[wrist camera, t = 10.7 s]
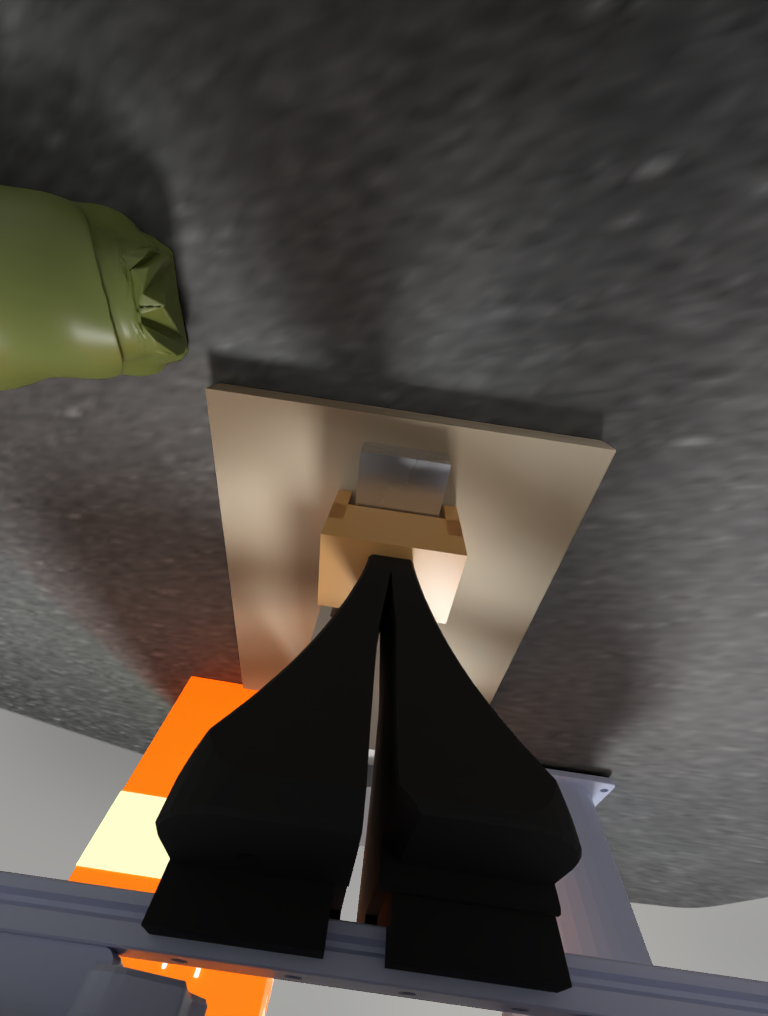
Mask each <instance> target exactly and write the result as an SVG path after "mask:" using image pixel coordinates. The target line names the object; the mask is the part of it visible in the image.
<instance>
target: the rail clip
mask: <svg viewBox="0 0 768 1016" xmlns="http://www.w3.org/2000/svg"><path fill="white" fill-rule="evenodd" d="M351 497H352V491H347V490H340V489H339V491H338V493H337V495H336V498H335V500H334V503H333V505H332V508H331V510H330V513H329V515H328V517H327V520H326V522H325V525H324V527H323V530H322V532H321V538H320V560H319V582H318V603H317V605H322V606H329V607H336V608H340V606H341V605H342V604H343V602H344V601H345V599H346V598H347V597H348V595H349V593H350V592H351V590H352V589H353V587H354V586H355V584H356V582H357V581H358V579H359V577H360V575H361V574H362V572H363V570H364V568H365V566H366V563H367V561H368V557H369V556H370V555H372V554H375V555H382V556H389V557H395V558H402V559H409V560H411V561H412V562H413V564H414V568H415V571H416V575H417V578H418V581H419V583H420V586H421V589H422V591H423V594H424V596H425V598H426V601H427V603H428V605H429V607H430V610H431V612H432V614H433V616H434V618H435V620H436V622H437V623H443V624H446V622H447V619H448V616H449V613H450V609H451V606H452V603H453V600H454V597H455V594H456V591H457V588H458V584H459V581H460V578H461V575H462V572H463V569H464V566H465V563H466V560H467V556H468V555H467V551H466V546H465V542H464V537H463V533H462V529H461V524H460V520H459V515H458V511H457V507H453V506H447V505H444V506H443V509H442V513H441V517H440V518H436V517H430V516H423V515H416V514H410V513H403V512H396V511H390V510H383V509H376V508H370V507H363V506H356V505H351Z"/></svg>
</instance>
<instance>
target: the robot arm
mask: <svg viewBox="0 0 768 1016" xmlns="http://www.w3.org/2000/svg"><path fill="white" fill-rule="evenodd" d="M379 634H380V661H379V711H378V724H377V734H376V744H375V755H374V764H373V774H372V784H371V794H370V803H369V813H368V822H367V832H366V841H365V851H364V859H363V868H362V877H361V886H360V895H359V904H358V913H357V922H349V921H342V920H340V914H341V909H342V904H343V901H344V897H345V893H346V889H347V886H349V883H350V879H351V875H352V871H353V867H354V863H355V859H356V856H357V852H358V847H359V844H360V840H361V836H362V830H363V820H364V810H365V799H366V789H367V773H368V757H369V742H370V727H371V713H372V700H373V687H374V674H375V662H376V651H377V643H378V639H379ZM614 787H615V784H614V782H613V780H612V779H611V778H608V777H601V776H595V775H588V774H581V773H574V772H568V771H561V770H554V769H547V768H544V767H543V766H542V765H541V764H540V762H539V761H538V760H537V759H536V758H535V757H534V756H533V755H532V754H531V753H530V752H529V751H528V750H527V749H526V748H525V746H524V745H523V744H522V743H521V742H520V741H519V740H518V739H517V737H516V736H515V735H514V734H513V733H512V732H511V730H510V729H509V728H508V727H507V726H506V724H505V723H504V722H503V721H502V720H501V718H500V717H499V716H498V715H497V713H496V712H495V711H494V709H493V708H492V707H491V706H490V704H489V703H488V702H487V700H486V699H485V698H484V696H483V695H482V694H481V692H480V691H479V690H478V688H477V687H476V686H475V685H474V683H473V682H472V680H471V679H470V677H469V676H468V674H467V673H466V671H465V670H464V668H463V667H462V665H461V664H460V662H459V661H458V659H457V658H456V656H455V654H454V653H453V651H452V649H451V648H450V646H449V644H448V643H447V641H446V639H445V637H444V635H443V634H442V632H441V630H440V628H439V626H438V624H437V622H436V620H435V618H434V616H433V614H432V612H431V610H430V607H429V605H428V603H427V601H426V598H425V596H424V594H423V591H422V589H421V586H420V583H419V581H418V578H417V575H416V571H415V568H414V564H413V562H412V561H411V560H409V559H402V558H395V557H389V556H382V555H375V554H372V555H370V556H369V557H368V561H367V563H366V566H365V568H364V570H363V572H362V574H361V575H360V577H359V579H358V581H357V582H356V584H355V586H354V587H353V589H352V590H351V592H350V593H349V595H348V597H347V598H346V599H345V601H344V602H343V604H342V605H341V606H340V608H339V609H338V610H337V612H336V613H335V614H334V616H333V617H332V618H331V619H330V621H329V622H328V623H327V624H326V625H325V627H324V628H323V629H322V630H321V631H320V632H319V634H318V635H317V636H316V637H315V638H314V639H313V640H312V641H311V642H310V643H309V644H308V645H307V647H306V648H305V649H304V650H303V651H302V652H301V653H300V654H299V655H298V656H297V657H296V658H295V659H294V660H293V661H292V662H291V663H290V664H288V665H287V666H286V667H285V668H284V669H283V670H282V671H281V672H280V673H279V674H277V675H276V676H275V677H274V678H273V679H272V680H270V681H269V682H268V683H267V684H266V685H265V686H264V687H262V688H261V689H260V690H259V691H258V692H257V693H255V694H254V695H253V696H252V697H251V698H249V699H248V700H247V701H245V702H244V703H243V704H241V705H240V706H239V707H238V708H236V709H235V710H234V711H232V712H231V713H230V714H228V715H227V716H226V717H224V718H223V719H222V720H220V721H219V722H218V723H217V724H215V725H214V726H213V727H211V728H210V729H209V730H208V732H207V733H206V734H205V736H204V737H203V738H202V740H201V741H200V743H199V744H198V745H197V747H196V748H195V750H194V751H193V753H192V754H191V756H190V757H189V759H188V760H187V762H186V764H185V765H184V767H183V769H182V770H181V772H180V773H179V775H178V777H177V779H176V781H175V783H174V785H173V787H172V789H171V791H170V793H169V795H168V797H167V799H166V801H165V803H164V805H163V807H162V809H161V811H160V813H159V815H158V817H157V819H156V821H155V824H156V830H157V834H158V837H159V839H160V841H161V843H162V844H163V846H164V848H165V850H166V852H167V854H168V856H169V858H170V860H169V862H168V864H167V866H166V869H165V871H164V873H163V875H162V878H161V880H160V882H159V884H158V887H157V889H156V891H155V893H149V892H143V891H136V890H129V889H122V888H115V887H108V886H101V885H94V884H87V883H80V882H74V881H67V880H59V879H52V878H46V877H38V876H32V875H25V874H18V873H11V872H4V871H0V1016H205V1013H206V1010H207V1003H206V999H204V998H201V997H199V996H197V995H195V994H192V993H190V992H189V991H188V989H187V985H186V981H183V980H178V979H174V978H170V977H166V976H161V975H157V974H153V973H149V972H144V971H140V970H136V969H131V968H127V967H123V963H122V960H121V958H120V957H127V958H134V959H141V960H148V961H155V962H162V963H169V964H176V965H183V966H190V967H197V968H204V969H211V970H218V971H225V972H232V973H238V974H245V975H252V976H259V977H266V978H273V979H280V980H288V981H295V982H301V983H308V984H315V985H322V986H329V987H336V988H343V989H350V990H357V991H364V992H370V993H378V994H384V995H391V996H398V997H405V998H412V999H419V1000H426V1001H433V1002H440V1003H447V1004H454V1005H461V1006H468V1007H475V1008H482V1009H489V1010H496V1011H502V1012H503V1013H502V1016H768V982H764V981H757V980H750V979H743V978H737V977H729V976H723V975H716V974H709V973H702V972H695V971H688V970H681V969H674V968H668V967H660V966H654V965H653V964H652V962H651V959H650V956H649V953H648V951H647V949H646V945H645V943H644V940H643V937H642V934H641V932H640V929H639V926H638V923H637V921H636V918H635V915H634V913H633V910H632V907H631V904H630V902H629V899H628V896H627V893H626V891H625V888H624V885H623V883H622V880H621V877H620V874H619V872H618V869H617V866H616V863H615V861H614V858H613V855H612V853H611V850H610V847H609V844H608V842H607V839H606V836H605V833H604V831H603V828H602V825H601V823H600V820H599V817H598V814H597V812H596V809H595V806H596V805H597V804H598V803H599V802H600V801H601V800H602V799H603V798H604V797H605V796H607V795H608V794H609V793H610V792H611V791H612V790H613V789H614ZM119 956H120V957H119Z"/></svg>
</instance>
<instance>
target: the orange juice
mask: <svg viewBox="0 0 768 1016" xmlns="http://www.w3.org/2000/svg"><path fill="white" fill-rule="evenodd" d="M257 692H258V690H251V689H245V688H243V685H242V684H236V683H230V682H224V681H218V680H212V679H206V678H200V677H194V676H191V678H190V679H189V681H188V683H187V684H186V686H185V688H184V689H183V691H182V693H181V694H180V696H179V698H178V699H177V701H176V703H175V704H174V706H173V707H172V709H171V711H170V712H169V714H168V716H167V717H166V719H165V721H164V722H163V724H162V726H161V727H160V729H159V731H158V732H157V734H156V736H155V737H154V739H153V741H152V742H151V744H150V746H149V747H148V749H147V751H146V752H145V754H144V756H143V757H142V759H141V761H140V762H139V764H138V766H137V767H136V769H135V770H134V772H133V774H132V775H131V777H130V779H129V780H128V782H127V784H126V786H125V787H124V789H123V790H122V791H120V793H119V795H118V796H117V798H116V800H115V801H114V803H113V805H112V806H111V808H110V810H109V811H108V813H107V814H106V816H105V818H104V819H103V821H102V823H101V824H100V826H99V828H98V829H97V831H96V833H95V834H94V836H93V838H92V839H91V841H90V842H89V844H88V846H87V848H86V849H85V851H84V852H83V854H82V856H81V858H80V859H79V861H78V862H77V864H76V868H75V870H74V871H73V873H72V875H71V876H70V878H69V880H68V881H74V882H80V883H87V884H94V885H101V886H108V887H115V888H122V889H129V890H136V891H143V892H149V893H155V891H156V889H157V887H158V884H159V882H160V880H161V878H162V875H163V873H164V871H165V869H166V866H167V864H168V862H169V860H170V858H169V856H168V854H167V852H166V850H165V848H164V846H163V844H162V843H161V841H160V839H159V837H158V834H157V830H156V824H155V821H156V819H157V817H158V815H159V813H160V811H161V809H162V807H163V805H164V803H165V801H166V799H167V797H168V795H169V793H170V791H171V789H172V787H173V785H174V783H175V781H176V779H177V777H178V775H179V773H180V772H181V770H182V769H183V767H184V765H185V764H186V762H187V760H188V759H189V757H190V756H191V754H192V753H193V751H194V750H195V748H196V747H197V745H198V744H199V743H200V741H201V740H202V738H203V737H204V736H205V734H206V733H207V732H208V730H209V729H210V728H211V727H213V726H214V725H215V724H217V723H218V722H219V721H220V720H222V719H223V718H224V717H226V716H227V715H228V714H230V713H231V712H232V711H234V710H235V709H236V708H238V707H239V706H240V705H241V704H243V703H244V702H245V701H247V700H248V699H249V698H251V697H252V696H253V695H254V694H255V693H257ZM119 957H120V956H119ZM120 958H121V960H122V963H123V967H127V968H131V969H136V970H140V971H144V972H149V973H153V974H157V975H161V976H166V977H170V978H174V979H178V980H183V981H186V985H187V989H188V991H189V992H190V993H192V994H195V995H197V996H199V997H201V998H204V999H206V1003H207V1010H206V1013H205V1016H265V1015H266V1011H267V1006H268V1001H269V997H270V992H271V988H272V982H273V978H266V977H259V976H252V975H245V974H238V973H232V972H225V971H218V970H211V969H204V968H197V967H190V966H183V965H176V964H169V963H162V962H155V961H148V960H141V959H134V958H127V957H120Z"/></svg>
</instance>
